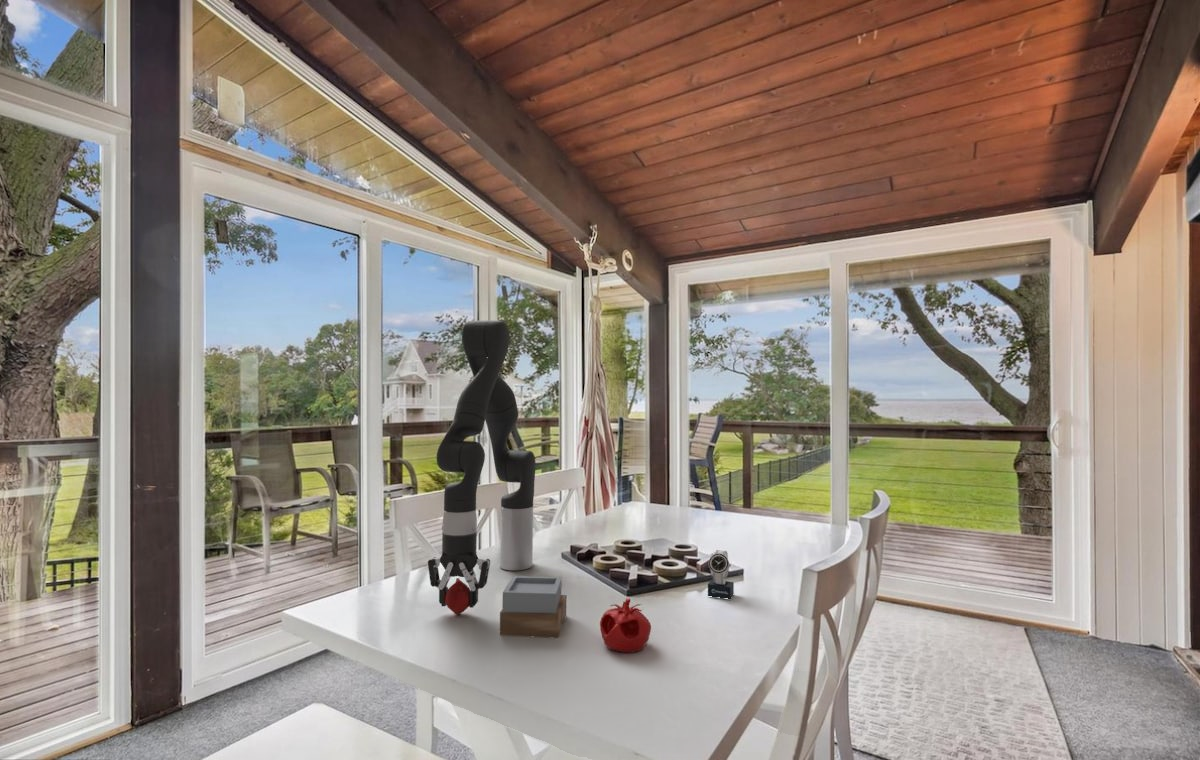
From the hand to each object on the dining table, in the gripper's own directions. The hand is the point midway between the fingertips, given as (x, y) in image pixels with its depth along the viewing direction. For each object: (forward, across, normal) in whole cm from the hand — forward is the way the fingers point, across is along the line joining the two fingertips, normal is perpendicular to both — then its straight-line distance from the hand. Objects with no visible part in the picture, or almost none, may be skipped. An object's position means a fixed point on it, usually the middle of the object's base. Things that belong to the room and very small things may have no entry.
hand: (458, 605), depth 131 cm
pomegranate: (+2, -38, +12) cm, 40 cm away
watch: (+2, -60, -20) cm, 63 cm away
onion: (+2, 0, 0) cm, 2 cm away
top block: (-3, -18, +4) cm, 18 cm away
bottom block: (+2, -18, +4) cm, 19 cm away
